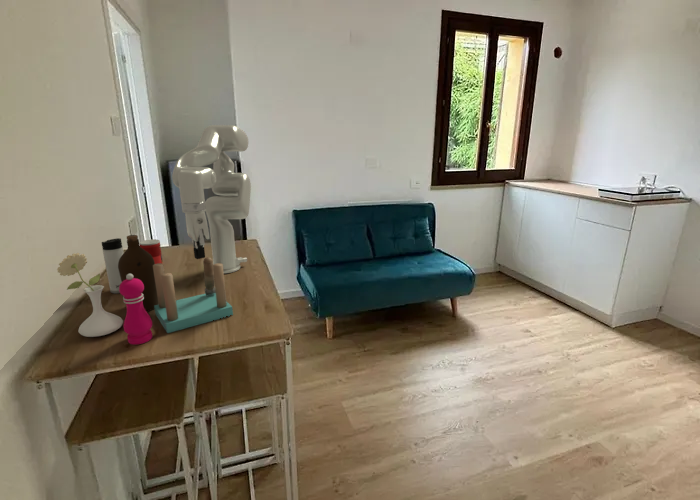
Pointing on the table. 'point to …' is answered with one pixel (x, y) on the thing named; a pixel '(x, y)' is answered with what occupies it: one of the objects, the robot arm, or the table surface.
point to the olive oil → (139, 270)
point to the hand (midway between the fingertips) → (200, 257)
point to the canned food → (153, 249)
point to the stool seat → (189, 302)
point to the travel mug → (113, 262)
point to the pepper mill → (135, 311)
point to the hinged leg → (209, 276)
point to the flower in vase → (99, 319)
